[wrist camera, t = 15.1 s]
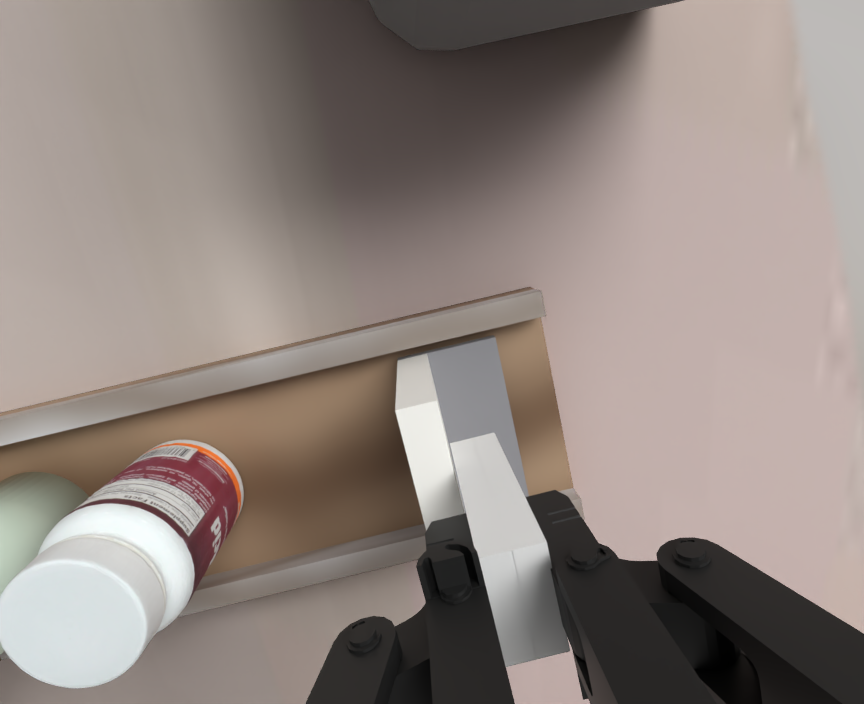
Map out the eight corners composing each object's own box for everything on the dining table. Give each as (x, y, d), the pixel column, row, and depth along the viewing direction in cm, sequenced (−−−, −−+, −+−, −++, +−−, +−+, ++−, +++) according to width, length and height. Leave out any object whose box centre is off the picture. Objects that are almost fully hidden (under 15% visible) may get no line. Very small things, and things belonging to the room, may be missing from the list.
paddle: (397, 357, 22) (395, 410, 15) (493, 335, 22) (534, 377, 15) (437, 515, 23) (451, 629, 16) (526, 494, 23) (578, 598, 16)
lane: (-91, 434, 23) (-305, 517, 16) (529, 286, 23) (583, 305, 16) (1, 634, 25) (-153, 784, 18) (570, 497, 25) (633, 594, 18)
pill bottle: (212, 559, 24) (109, 729, 15) (111, 505, 23) (-53, 653, 15) (268, 473, 23) (192, 602, 15) (166, 415, 22) (26, 516, 14)
